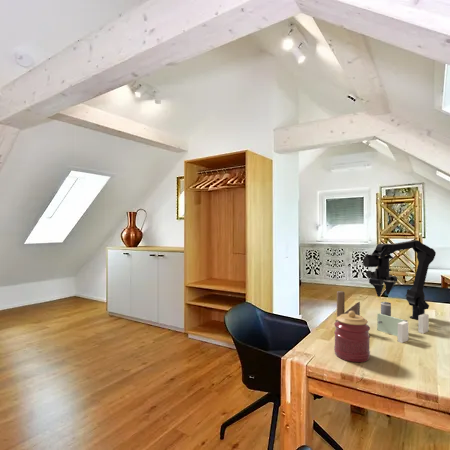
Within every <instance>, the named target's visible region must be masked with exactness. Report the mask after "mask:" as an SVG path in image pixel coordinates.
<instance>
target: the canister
mask: <svg viewBox="0 0 450 450" xmlns="http://www.w3.org/2000/svg"><path fill="white" fill-rule="evenodd" d="M336 320H338V321H336ZM336 320H335V321H336V322H334V324H333V325H334V327H335V326H336V327H335V330H334V332H333V333H334V348H333V350H334V354H335V356H336V357H337V358H338V359H339V358H340V359H341V360H344V361H348V362H350V363H351V362H353V363H364V362H365V363H366V362H368V361H369V360H370V356H371V351H370V343H371V342H370V338H371V335H370V334H369V331H370V329H371V327H370V325H368V322H369V321H368V320H367V319H366V318H365V317H363V316H361V315H356V314H355V312H354V311H349V313H348V314H341V315H340V316H338V317H337V316H336Z"/></svg>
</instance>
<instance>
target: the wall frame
mask: <svg viewBox="0 0 450 450" xmlns="http://www.w3.org/2000/svg"><path fill="white" fill-rule="evenodd" d="M429 315H430V314H428V313H425V314H422V315H419V316H418V319H417V320H418V321H417V322H418V323H417V324H418V326H417V327H418V330H417V333H418V334H419V333H420V334H425V333H428V332H429V327H430V325H429V320H430V319H429V317H430V316H429ZM407 341H409V321H407V322H405V321H403V322H400V323H398V336H397V343H398V342H399V343H401V344H402V343H405V342H407Z"/></svg>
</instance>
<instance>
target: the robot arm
mask: <svg viewBox="0 0 450 450" xmlns="http://www.w3.org/2000/svg"><path fill="white" fill-rule="evenodd" d="M409 249H413V251H414V252H415V253H416V258H417V261H418V264H417V267H416V268H417V269H416V272H415V277H414V281H413V284H412V287H411V288H410V289H407V290H406V294H405V298H406V301H407V303H408V305H409V306H411V307H412V308H411V309H412V311H411V312H412V315H411V316H409V318H410V319H414V320H418V316H419V315H422V314H426V312H425V311H426V310H428V309H429V307H430V304H429V303H428V302H427V301H426V300H425V298H426V297H425V293H424V286H425V284H426V278H427V274H428V270H429V267H430V264H431V263H432V262H433V261H434V259H435V257H436V251H435V249H434V248H431V247H430V246H428V245H426V244H424V243H422V242H421V241H420V240H416V239H411V240H408V241H402V242H401V241H400V242H397V243H378V244H376V247H375V249H374V250H373V251H372V253H371V254H368V253H367V254H366V253H365V255H364V258H363V260H362V265H363V266H364V267H365V268H375V271H372V270H367V271H366V274H365V276H366V277H367V278H368V283H369V284H370V285H371V286H373V287H374V290H375V292H376V296H377V297H378V298H381V296H382V292H383V289H384V287H385V292H386V295H390V293H391V292H392V289H393V287H394V286H395V285H396V283H397V282H398V276H396V275H391V274H390V272H391V271H392V269H391V268H390V260H393V259H394V257H393V256H392V255H391V254H394V253H395V252H398V251H403V250H404V251H405V250H409ZM384 285H385V286H384Z"/></svg>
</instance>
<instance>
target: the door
mask: <svg viewBox="0 0 450 450" xmlns="http://www.w3.org/2000/svg"><path fill="white" fill-rule="evenodd" d="M376 317H377V319H376V320H377V330H376V331H380V332H383V333H385V334H389V335H392V336H395V337H396V336H397V337H398V323H400V322H403V321H405V322H408V320H406V319H402V318H399V317H394V316H392V315H391V316H387V315H383V314H381V313H377V316H376Z"/></svg>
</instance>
